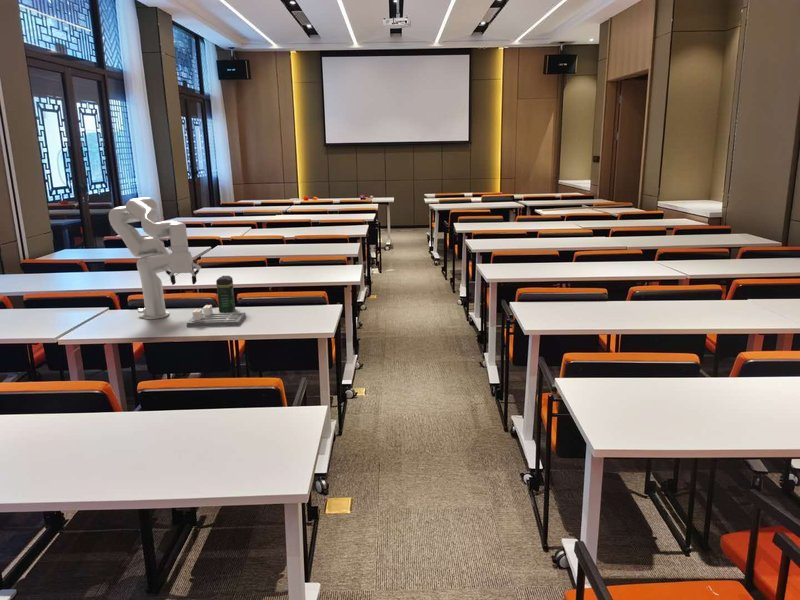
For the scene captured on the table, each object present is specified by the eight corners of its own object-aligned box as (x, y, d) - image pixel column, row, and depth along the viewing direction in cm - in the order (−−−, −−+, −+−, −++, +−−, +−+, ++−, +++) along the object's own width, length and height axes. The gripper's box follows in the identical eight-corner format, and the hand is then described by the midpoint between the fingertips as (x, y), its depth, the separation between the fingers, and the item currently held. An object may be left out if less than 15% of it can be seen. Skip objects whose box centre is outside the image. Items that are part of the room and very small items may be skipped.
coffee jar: (233, 313, 305) (229, 278, 300) (217, 313, 304) (214, 279, 299) (237, 308, 314) (233, 274, 309) (222, 308, 313) (218, 274, 308)
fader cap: (193, 320, 284) (192, 311, 283) (196, 317, 289) (195, 309, 288) (199, 319, 284) (198, 311, 283) (202, 316, 289) (201, 308, 288)
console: (186, 326, 284) (185, 312, 282) (196, 317, 298) (194, 304, 296) (238, 325, 284) (237, 311, 282) (245, 316, 299) (244, 303, 297)
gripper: (158, 250, 274) (163, 286, 278) (196, 249, 275) (200, 285, 279) (164, 247, 281) (168, 282, 286) (200, 246, 282) (204, 281, 286)
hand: (184, 283), depth 282 cm, fingers open, 9 cm apart
